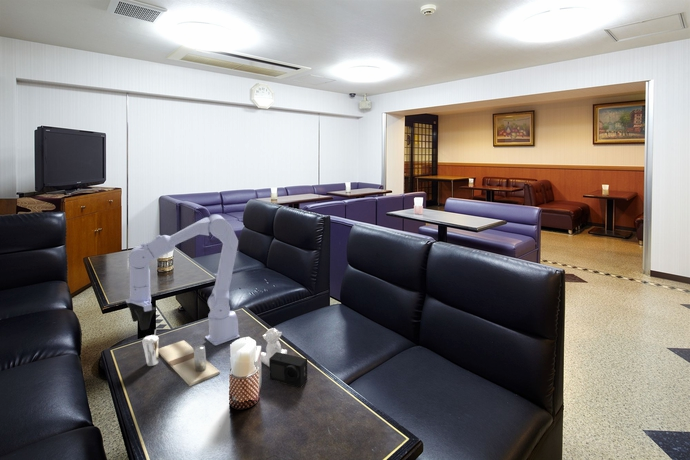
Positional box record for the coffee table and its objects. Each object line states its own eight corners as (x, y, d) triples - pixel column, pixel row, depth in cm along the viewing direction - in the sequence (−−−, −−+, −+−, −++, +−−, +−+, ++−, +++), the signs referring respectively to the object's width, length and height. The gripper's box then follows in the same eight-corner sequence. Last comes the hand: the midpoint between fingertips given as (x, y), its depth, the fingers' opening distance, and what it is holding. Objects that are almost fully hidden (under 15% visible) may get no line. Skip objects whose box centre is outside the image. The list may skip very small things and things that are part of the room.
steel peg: (203, 364, 117) (202, 344, 115) (208, 369, 114) (206, 347, 113) (193, 368, 114) (191, 347, 113) (197, 373, 112) (196, 351, 111)
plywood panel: (184, 342, 131) (183, 339, 131) (219, 373, 113) (219, 370, 113) (156, 351, 125) (156, 348, 125) (189, 386, 107) (189, 383, 107)
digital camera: (267, 382, 110) (266, 360, 108) (276, 372, 115) (276, 351, 113) (298, 390, 106) (298, 368, 105) (307, 380, 111) (307, 358, 110)
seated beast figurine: (286, 353, 126) (286, 319, 123) (291, 367, 118) (290, 331, 115) (257, 357, 123) (256, 323, 120) (260, 372, 115) (259, 336, 112)
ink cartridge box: (258, 400, 102) (256, 351, 99) (239, 401, 101) (237, 351, 98) (262, 381, 110) (261, 335, 107) (245, 382, 110) (243, 335, 106)
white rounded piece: (165, 358, 121) (162, 329, 119) (155, 367, 116) (152, 338, 114) (151, 357, 122) (149, 328, 119) (141, 366, 116) (138, 337, 114)
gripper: (119, 280, 121) (120, 320, 124) (133, 293, 112) (134, 336, 114) (142, 277, 126) (143, 315, 129) (158, 289, 117) (158, 330, 119)
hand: (140, 324), depth 122 cm, fingers open, 7 cm apart
